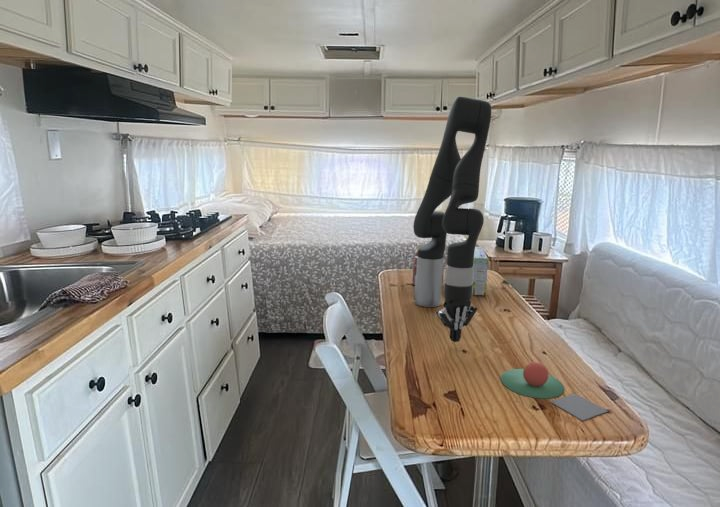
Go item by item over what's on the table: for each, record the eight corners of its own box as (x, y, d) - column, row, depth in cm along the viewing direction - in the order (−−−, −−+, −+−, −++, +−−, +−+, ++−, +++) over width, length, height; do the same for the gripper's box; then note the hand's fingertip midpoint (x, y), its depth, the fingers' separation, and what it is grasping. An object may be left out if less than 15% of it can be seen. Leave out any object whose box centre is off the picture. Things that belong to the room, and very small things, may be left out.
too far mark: (550, 402, 100) (550, 401, 100) (575, 394, 104) (575, 393, 104) (582, 421, 93) (582, 420, 93) (607, 411, 97) (608, 410, 97)
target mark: (488, 376, 111) (488, 375, 111) (530, 365, 117) (530, 364, 117) (533, 404, 99) (533, 403, 99) (577, 390, 105) (577, 389, 105)
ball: (543, 385, 102) (527, 393, 106) (557, 377, 105) (541, 385, 109) (529, 362, 104) (514, 371, 108) (543, 355, 107) (527, 364, 111)
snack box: (466, 280, 196) (469, 246, 192) (480, 281, 195) (482, 246, 192) (471, 295, 175) (474, 257, 172) (486, 296, 174) (489, 258, 171)
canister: (439, 280, 195) (441, 239, 191) (446, 289, 182) (449, 246, 179) (409, 280, 194) (411, 239, 191) (414, 289, 182) (416, 245, 178)
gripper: (468, 275, 131) (464, 332, 135) (430, 280, 125) (427, 340, 129) (487, 282, 124) (482, 341, 128) (447, 287, 118) (444, 350, 122)
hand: (454, 340), depth 128 cm, fingers closed
